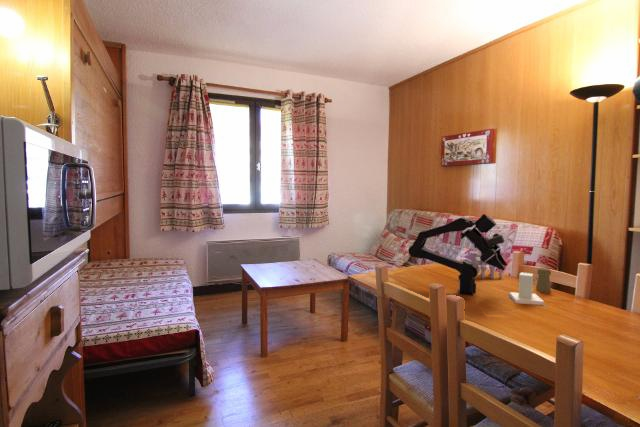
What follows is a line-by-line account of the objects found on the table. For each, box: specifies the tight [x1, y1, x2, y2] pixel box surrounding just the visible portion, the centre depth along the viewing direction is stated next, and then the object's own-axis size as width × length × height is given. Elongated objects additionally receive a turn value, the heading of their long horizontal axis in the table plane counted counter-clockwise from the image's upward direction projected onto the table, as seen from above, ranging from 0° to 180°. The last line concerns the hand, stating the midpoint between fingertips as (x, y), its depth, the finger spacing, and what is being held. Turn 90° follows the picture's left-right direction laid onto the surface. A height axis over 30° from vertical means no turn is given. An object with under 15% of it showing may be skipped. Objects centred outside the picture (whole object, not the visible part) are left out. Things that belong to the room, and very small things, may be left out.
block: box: [518, 271, 534, 299], centre depth 146 cm, size 4×4×10 cm
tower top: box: [508, 291, 545, 306], centre depth 146 cm, size 10×10×2 cm
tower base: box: [506, 294, 548, 307], centre depth 146 cm, size 12×12×2 cm
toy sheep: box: [463, 251, 503, 279], centre depth 186 cm, size 20×11×14 cm, turn 96°
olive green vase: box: [535, 267, 552, 294], centre depth 158 cm, size 6×6×11 cm
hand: (505, 267), depth 149 cm, fingers open, 9 cm apart
